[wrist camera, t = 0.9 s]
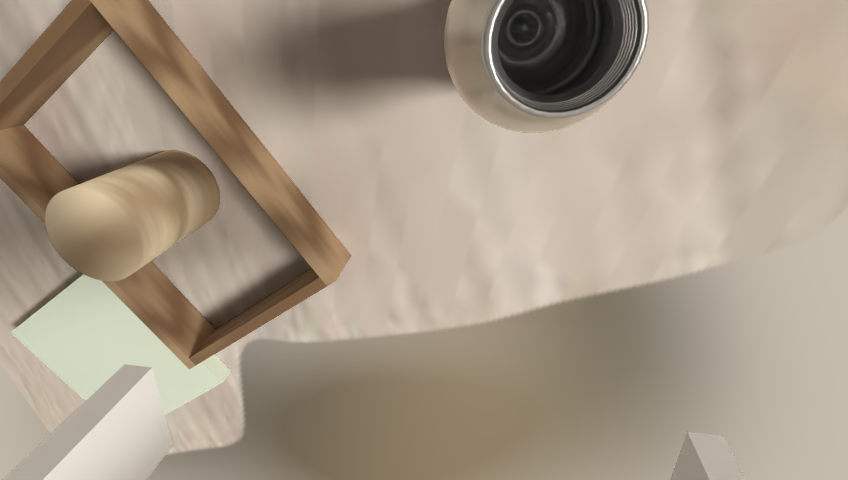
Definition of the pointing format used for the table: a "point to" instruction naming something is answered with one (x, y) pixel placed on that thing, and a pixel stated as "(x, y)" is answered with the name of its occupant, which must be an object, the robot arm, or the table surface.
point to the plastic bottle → (542, 57)
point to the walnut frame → (215, 120)
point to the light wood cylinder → (131, 214)
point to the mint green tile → (109, 345)
